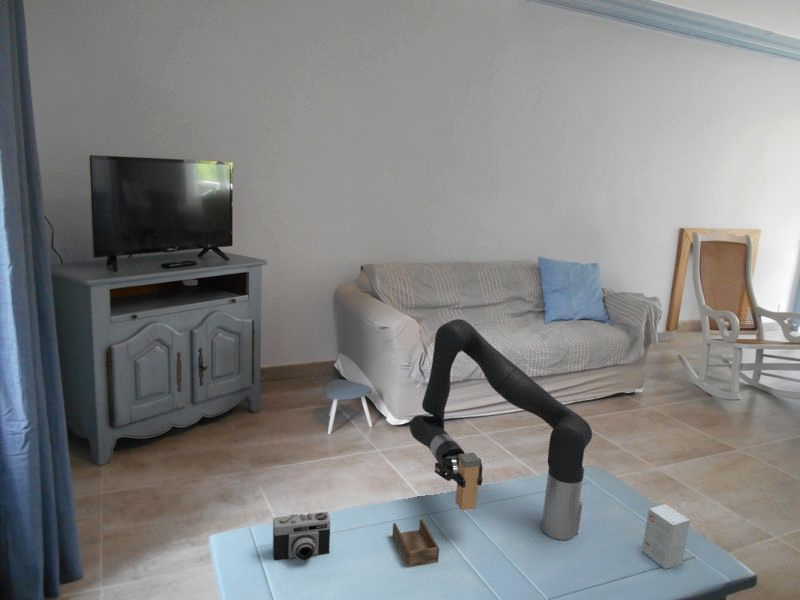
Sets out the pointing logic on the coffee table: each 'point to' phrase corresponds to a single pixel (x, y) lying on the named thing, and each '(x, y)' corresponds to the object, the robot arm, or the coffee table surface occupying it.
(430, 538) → the walnut box
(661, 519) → the small box
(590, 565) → the coffee table surface
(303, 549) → the camera
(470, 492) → the brown tall square block
